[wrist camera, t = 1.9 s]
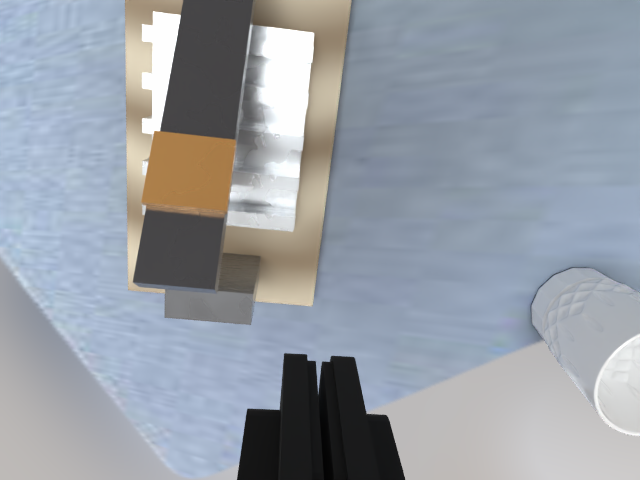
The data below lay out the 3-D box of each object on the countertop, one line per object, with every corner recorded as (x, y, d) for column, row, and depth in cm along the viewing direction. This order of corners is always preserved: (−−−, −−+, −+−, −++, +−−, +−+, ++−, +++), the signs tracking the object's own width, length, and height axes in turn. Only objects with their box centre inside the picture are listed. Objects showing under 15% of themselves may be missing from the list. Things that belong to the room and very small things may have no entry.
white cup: (595, 358, 40) (685, 446, 31) (507, 338, 39) (572, 423, 30) (639, 272, 38) (752, 341, 28) (547, 248, 37) (632, 311, 27)
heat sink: (161, -96, 27) (125, -138, 21) (324, -71, 28) (331, -106, 22) (157, 273, 34) (129, 314, 28) (286, 284, 35) (284, 327, 29)
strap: (193, -79, 24) (188, -108, 23) (275, -67, 24) (275, -94, 23) (126, 286, 19) (115, 279, 18) (230, 295, 19) (227, 289, 18)
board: (135, -100, 28) (123, -112, 27) (357, -67, 29) (361, -76, 28) (137, 278, 36) (128, 290, 34) (311, 294, 37) (312, 306, 35)
